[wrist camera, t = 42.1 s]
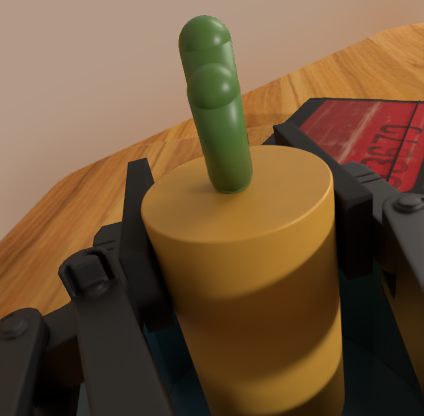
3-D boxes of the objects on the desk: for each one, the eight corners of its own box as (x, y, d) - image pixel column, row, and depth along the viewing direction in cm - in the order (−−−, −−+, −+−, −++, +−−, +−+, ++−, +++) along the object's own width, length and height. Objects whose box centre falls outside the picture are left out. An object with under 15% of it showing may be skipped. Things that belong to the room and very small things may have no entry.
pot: (82, 885, 9) (-108, 894, 6) (156, 310, 26) (120, 216, 22) (687, 851, 8) (940, 836, 5) (363, 274, 25) (362, 168, 21)
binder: (230, 169, 36) (307, 95, 51) (233, 191, 37) (308, 113, 52) (423, 192, 28) (451, 96, 42) (420, 219, 29) (448, 117, 44)
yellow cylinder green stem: (209, 468, 13) (46, 63, 6) (207, 343, 18) (108, 29, 11) (366, 446, 13) (362, -9, 6) (322, 324, 17) (293, -14, 11)
